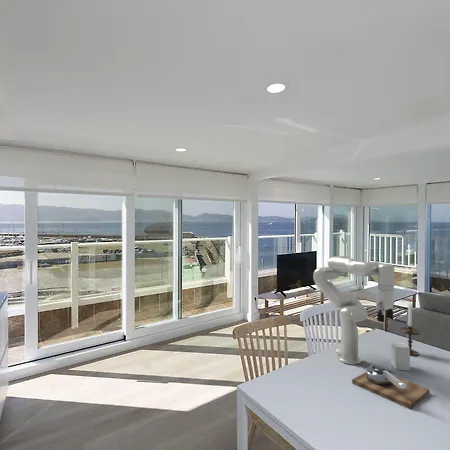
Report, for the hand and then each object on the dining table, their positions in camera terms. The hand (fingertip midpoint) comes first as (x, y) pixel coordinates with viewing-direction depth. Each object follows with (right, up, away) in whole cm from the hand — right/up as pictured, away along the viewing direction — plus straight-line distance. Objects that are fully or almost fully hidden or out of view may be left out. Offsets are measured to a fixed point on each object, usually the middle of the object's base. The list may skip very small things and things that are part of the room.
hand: (385, 319), depth 160 cm
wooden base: (-4, -30, -12) cm, 32 cm away
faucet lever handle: (-6, -28, -13) cm, 31 cm away
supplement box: (+14, -30, +11) cm, 35 cm away
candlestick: (+31, -31, +30) cm, 53 cm away
